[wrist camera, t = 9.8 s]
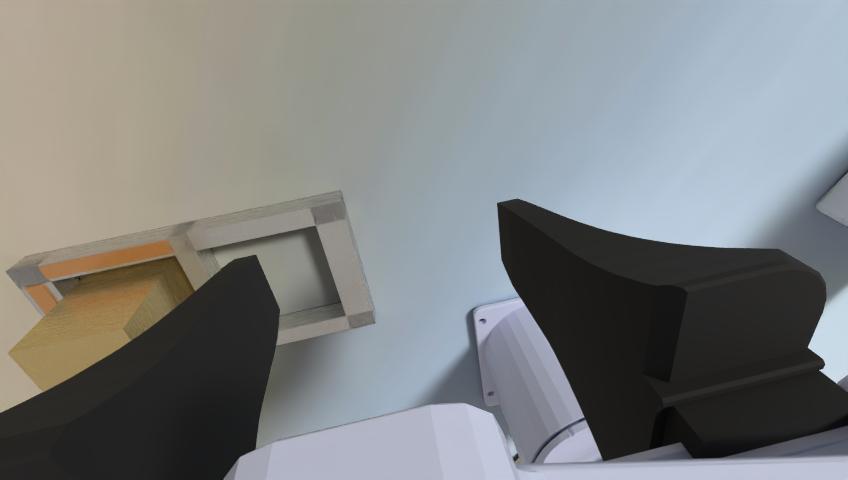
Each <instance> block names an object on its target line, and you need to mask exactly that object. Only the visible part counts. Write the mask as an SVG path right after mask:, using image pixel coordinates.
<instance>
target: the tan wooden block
mask: <svg viewBox="0 0 848 480" xmlns="http://www.w3.org/2000/svg"><path fill="white" fill-rule="evenodd" d="M194 292H195V290H194V288H193V286H192V284H191V283H190V281H189V279H188V277H187V275H186V274H185V272H184V270H183V268H182V266H181V265H180V263H179V261H178V259H177V257H176V256H170V257H165V258H160V259H156V260H151V261H146V262H142V263H137V264H132V265H127V266H123V267H118V268H113V269H109V270H104V271H99V272H95V273H90V274H86V275H85V276H84V277H83V278H82V279H81V280H80V281H79V282H78V283H77V284H76V285H75V286H74V287H73V288H72V289H71V290H70V291H69V292H68V293H67V294H66V295H65V296H64V297H63V298H62V299H61V300H60V301H59V302H58V303H57V304H56V305H55V306H54V307H53V308H52V309H51V310H50V311H49V312H48V313H47V314H46V315H45V316H44V317H43V318H42V319H41V320H40V321H39V322H38V323H37V324H36V325H35V326H34V327H33V328H32V329H31V330H30V331H29V332H28V333H27V334H26V335H25V336H24V337H23V338H22V339H21V340H20V341H19V342H18V343H17V344H16V345H15V346H14V347H13V348H12V349H11V350H10V351H9V352H8V354H9V355H10V356H11V357H12V358H13V360H14V361H15V362H16V363H17V364H18V365H19V366H20V367H21V368H22V369H23V370H24V372H25V373H26V374H27V375H28V376H29V377H30V378H31V379H32V380H33V381H34V382H35V384H36V385H37V386H38V387H39V388H40V389H41V390H42V391H43V392H45V391H46V390H48V389H50V388H52V387H54V386H56V385H58V384H60V383H62V382H63V381H65V380H67V379H69V378H71V377H73V376H74V375H76V374H78V373H79V372H81V371H83V370H85V369H86V368H88V367H90V366H91V365H93V364H95V363H96V362H98V361H100V360H101V359H103V358H105V357H107V356H108V355H110V354H112V353H113V352H115V351H116V350H118V349H119V348H121V347H122V346H124V345H125V344H127V343H128V342H130V341H131V340H133V339H134V338H136V337H137V336H139V335H140V334H142V333H143V332H144V331H146V330H147V329H149V328H150V327H151V326H153V325H154V324H155V323H157V322H158V321H159V320H160V319H162V318H163V317H164V316H165V315H167V314H168V313H169V312H170V311H172V310H173V309H174V308H176V307H177V306H178V305H179V304H181V303H182V302H183V301H184V300H186V299H187V298H188V297H189V296H190V295H191V294H193V293H194Z"/></svg>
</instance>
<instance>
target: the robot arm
mask: <svg viewBox="0 0 848 480" xmlns="http://www.w3.org/2000/svg"><path fill="white" fill-rule="evenodd" d="M497 207H498V220H499V233H500V245H501V258H502V262H503V264H504V267H505V269H506V271H507V274H508V276H509V278H510V280H511V283H512V285H513V287H514V288H515V290H516V292H517V293H518V295H519V296H520V297H519V298H515V299H510V300H506V301H501V302H497V303H493V304H488V305H484V306H479V307H477V308H476V309H474V311H473V319H474V327H475V334H476V342H477V349H478V357H479V365H480V372H481V380H482V388H483V395H484V401H485V404H486V406H488V407H493V406H497V405H500V407H501V409H502V412H503V415H504V418H505V420H506V423H507V426H508V428H509V431H510V434H511V436H512V439H513V442H514V445H515V447H516V450H517V453H518V455H519V458H520V461H521V463H522V464H514V461H513V458H512V455H511V452H510V450H509V447H508V444H507V441H506V438H505V436H504V433H503V431H502V429H501V428H500V426H499V424H498V422H497V421H496V419H495V417H494V416H493V414H492V413H489V412H486V411H484V410H481V409H479V408H476V407H474V406H471V405H468V404H466V403H462V402H458V403H440V404H428V405H424V406H419V407H415V408H411V409H407V410H403V411H398V412H394V413H390V414H386V415H382V416H377V417H373V418H369V419H365V420H360V421H356V422H352V423H348V424H344V425H339V426H335V427H331V428H327V429H323V430H318V431H314V432H310V433H306V434H302V435H297V436H293V437H289V438H285V439H281V440H276V441H274V442H272V443H270V444H267V445H265V446H263V447H260V448H258V449H256V450H255V448H256V440H257V432H258V423H259V417H260V412H261V407H262V402H263V398H264V394H265V390H266V386H267V382H268V378H269V374H270V369H271V365H272V361H273V357H274V352H275V348H276V344H277V339H278V329H279V314H280V309H279V306H278V304H277V302H276V299H275V297H274V295H273V293H272V290H271V288H270V286H269V283H268V281H267V279H266V277H265V274H264V272H263V270H262V267H261V265H260V263H259V261H258V258H257V256H256V255H252V256H248V257H243V258H238V259H235V260H233V261H231V262H230V263H228V264H227V265H226V266H225V267H223V268H222V269H221V270H220V271H218V272H217V273H216V274H215V275H214V276H212V277H211V278H210V279H209V280H208V281H207V282H205V283H204V284H203V285H202V286H201V287H200V288H198V289H197V290H196V291H195V292H194V293H193V294H191V295H190V296H189V297H188V298H187V299H186V300H184V301H183V302H182V303H181V304H179V305H178V306H177V307H176V308H174V309H173V310H172V311H170V312H169V313H168V314H167V315H165V316H164V317H163V318H162V319H160V320H159V321H158V322H157V323H155V324H154V325H153V326H151V327H150V328H149V329H147V330H146V331H144V332H143V333H142V334H140V335H139V336H137V337H136V338H134V339H133V340H131V341H130V342H128V343H127V344H125V345H124V346H122V347H121V348H119V349H118V350H116V351H115V352H113V353H112V354H110V355H108V356H107V357H105V358H103V359H101V360H100V361H98V362H96V363H95V364H93V365H91V366H90V367H88V368H86V369H85V370H83V371H81V372H79V373H78V374H76V375H74V376H73V377H71V378H69V379H67V380H65V381H63V382H62V383H60V384H58V385H56V386H54V387H52V388H50V389H48V390H46V391H45V392H43V393H41V394H39V395H37V396H35V397H33V398H31V399H29V400H27V401H25V402H23V403H21V404H18V405H16V406H14V407H12V408H10V409H8V410H6V411H4V412H2V413H0V480H848V375H847V376H846V377H844V378H843V379H842V380H840V381H839V382H838V383H837V384H836V383H835V382H834V381H832V380H831V379H830V378H828V377H827V376H826V375H825V374H823V373H822V372H821V371H819V370H821V369H823V368H824V366H825V363H824V361H823V359H822V358H821V357H819V356H818V355H817V354H815V353H814V352H813V351H811V350H810V349H809V348H808V345H809V343H810V341H811V338H812V336H813V334H814V331H815V329H816V327H817V324H818V322H819V320H820V317H821V315H822V313H823V309H824V306H825V302H826V284H825V281H824V280H823V278H822V276H821V275H820V273H819V272H817V271H815V270H814V269H812V268H810V267H809V266H807V265H805V264H804V263H802V262H800V261H799V260H797V259H795V258H793V257H792V256H790V255H788V254H787V253H785V252H783V251H781V250H779V249H753V248H717V247H704V246H691V245H682V244H673V243H666V242H659V241H653V240H646V239H641V238H636V237H631V236H627V235H622V234H618V233H614V232H610V231H606V230H602V229H599V228H596V227H593V226H589V225H586V224H583V223H580V222H577V221H575V220H572V219H569V218H566V217H564V216H561V215H559V214H556V213H554V212H551V211H549V210H546V209H544V208H541V207H539V206H536V205H534V204H531V203H529V202H526V201H523V200H520V199H513V200H509V201H504V202H499V203H497ZM480 319H484V320H482V321H479V320H480Z"/></svg>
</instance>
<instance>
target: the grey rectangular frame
mask: <svg viewBox="0 0 848 480" xmlns="http://www.w3.org/2000/svg"><path fill="white" fill-rule="evenodd" d="M311 226H316V228H317V231H318V234H319V237H320V240H321V243H322V246H323V248H324V251H325V254H326V257H327V260H328V263H329V266H330V269H331V272H332V275H333V278H334V281H335V284H336V287H337V290H338V293H339V296H340V299H341V302H340V303H336V304H331V305H327V306H322V307H318V308H314V309H309V310H305V311H300V312H296V313H291V314H287V315H282V316H279V329H278V339H277V344H276V346H277V345H282V344H286V343H291V342H295V341H299V340H304V339H308V338H313V337H317V336H321V335H326V334H330V333H335V332H339V331H344V330H348V329H352V328H357V327H361V326H366V325H370V324H375V309H374V305H373V301H372V298H371V294H370V291H369V287H368V284H367V281H366V277H365V274H364V270H363V267H362V263H361V260H360V256H359V253H358V249H357V246H356V242H355V239H354V235H353V232H352V228H351V225H350V221H349V218H348V214H347V211H346V207H345V204H344V200H343V197H342V193H341V191H336V192H332V193H327V194H322V195H317V196H312V197H308V198H303V199H298V200H293V201H289V202H284V203H279V204H274V205H269V206H265V207H260V208H255V209H250V210H245V211H241V212H236V213H231V214H226V215H222V216H217V217H212V218H207V219H202V220H198V221H193V222H188V223H183V224H178V225H174V226H169V227H164V228H159V229H154V230H150V231H145V232H140V233H135V234H131V235H126V236H121V237H116V238H111V239H107V240H102V241H97V242H92V243H87V244H83V245H78V246H73V247H68V248H64V249H59V250H54V251H49V252H44V253H40V254H35V255H30V256H26V257H24V258H23V259H22V260H20V261H19V262H18V263H16V264H15V265H14V266H12V267H11V268H10V269H8V270H7V271H6V273H7V274H8V275H9V276H10V278H11V279H12V280H13V281H14V283H15V284H16V285H17V286H18V287H19V289H20V290H21V291H22V292H23V293H24V295H25V296H26V297H27V298H28V300H29V301H30V302H31V303H32V304H33V306H34V307H35V308H36V309H37V310H38V312H39V313H40V314H41V315H42V316H43V317H44V316H45V315H46V314H47V313H48V312H49V311H50V310H51V309H52V308H53V307H54V306H55V305H56V304H57V303H58V302H59V301H60V300H61V299H62V298H63V297H64V296H65V295H66V294H67V293H68V292H69V291H70V290H71V289H72V288H73V287H74V286H75V285H76V284H77V283H78V282H79V280H78V279H77V278H76V276H80V275H85V274H90V273H95V272H99V271H104V270H109V269H113V268H118V267H123V266H127V265H132V264H137V263H142V262H146V261H151V260H156V259H160V258H165V257H170V256H176V257H177V259H178V261H179V263H180V265H181V266H182V268H183V270H184V272H185V274H186V275H187V277H188V279H189V281H190V283H191V284H192V286H193V288H194V290H195V291H196V290H197V289H198V288H200V287H201V286H202V285H203V284H204V283H205V282H207V281H208V280H209V279H210V278H211V277H212V276H214V275H215V274H216V273H217V272H218V271H220V270H221V269H220V267H219V265H218V263H217V261H216V259H215V257H214V255H213V253H212V251H211V249H210V248H212V247H217V246H222V245H226V244H231V243H236V242H240V241H245V240H250V239H255V238H259V237H264V236H269V235H273V234H278V233H283V232H287V231H292V230H297V229H302V228H306V227H311Z"/></svg>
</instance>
